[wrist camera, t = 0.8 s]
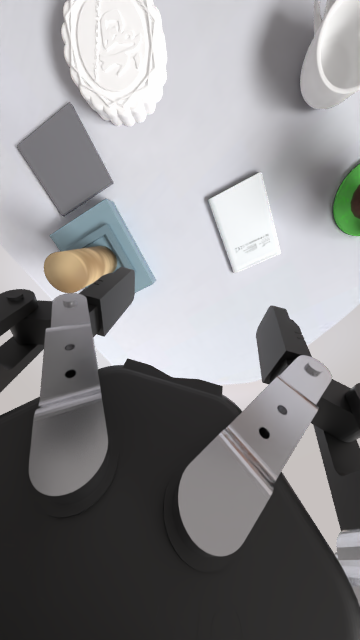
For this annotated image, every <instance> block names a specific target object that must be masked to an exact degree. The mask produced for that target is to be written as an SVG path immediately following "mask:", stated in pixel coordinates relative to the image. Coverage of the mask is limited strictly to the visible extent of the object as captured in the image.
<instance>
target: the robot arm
mask: <svg viewBox="0 0 360 640" xmlns="http://www.w3.org/2000/svg"><path fill="white" fill-rule="evenodd" d="M134 294H135V271H134V270H132V269H128V268H124V267H120V268H119V269H117V270H116V271H115V272H114V273H108V274H105V275H103V276H101V277H100V278H99V279H98V280H96V281H95V282H94V283H93V284H91V285H90V286H88V287H87V288H86V289H84V290H83V291H82V292H80V293H79V294H77V293H67V294H63V295H60V296H58V297H56V298H55V299H54V300H53V301H37V300H36V297H35V294H34V293H33V292H32V291H30V290H25V289H16V290H10V291H6V292H4V293H1V294H0V336H1V335H2V334H4V333H5V332H6V331H8V330H9V329H10V330H11V332H12V334H13V337H12V338H10V339H9V340H8V341H7V342H5V343H4V344H3V345H2V346H0V392H1V391H2V390H3V389H4V388H5V387H6V386H7V385H8V384H9V383H10V382H11V381H12V380H13V379H14V378H15V377H16V376H17V375H18V374H19V373H20V372H21V371H22V370H23V369H24V368H25V367H26V366H27V365H28V364H29V363H30V362H31V361H32V360H33V359H34V358H35V357H36V356H37V355H38V354H39V353H40V352H41V351H42V350H43V349H44V355H43V367H42V379H41V391H40V397H38V398H36V399H34V400H32V401H30V402H28V403H26V404H24V405H21V406H19V407H17V408H15V409H13V410H11V411H9V412H7V413H5V414H2V415H0V640H360V448H359V445H358V443H357V440H356V439H358V438H360V383H358V384H356V385H355V386H354V387H353V388H349V387H347V386H345V385H343V384H341V383H339V382H337V381H335V380H333V379H332V375H331V373H330V371H329V370H328V368H327V367H326V366H325V365H324V364H322V363H321V362H320V361H318V360H317V359H315V358H312V356H311V354H310V352H309V349H308V347H307V345H306V342H305V340H304V337H303V335H301V334H302V333H301V330H300V328H299V326H298V325H297V324H296V323H295V322H294V321H293V320H291V319H290V318H289V316H288V313H287V310H286V309H284V308H280V307H276V306H270V307H269V308H268V310H267V312H266V314H265V316H264V317H263V319H262V321H261V323H260V325H259V327H258V329H257V333H256V339H257V346H258V353H259V361H260V368H261V376H262V382H263V383H266V384H269V385H268V386H267V387H266V388H265V389H264V390H263V391H262V392H261V393H260V394H259V395H258V396H257V397H256V398H255V400H253V401H252V402H251V404H249V405H248V407H247V408H246V409H245V410H244V411H243V412H242V411H241V409H240V408H239V407H238V406H237V405H236V404H235V403H234V402H232V401H231V400H230V399H228V398H227V397H226V396H224V395H222V386H220V385H216V384H213V383H209V382H206V381H203V380H199V379H186V378H173V377H170V376H169V375H167V374H165V373H163V372H162V371H160V370H158V369H156V368H154V367H153V366H151V365H148V364H145V363H141V362H138V361H134V360H131V359H127V360H126V362H125V364H124V365H115V366H108V367H104V368H101V369H98V365H97V359H96V353H95V346H94V340H93V337H94V336H95V335H96V334H97V335H101V336H105V335H106V334H107V333H108V331H109V330H110V329H111V328H112V326H113V325H114V324H115V323H116V321H117V320H118V319H119V318H120V316H121V315H122V314H123V313H124V312H125V310H126V309H127V308H128V307H129V305H130V304H131V303H132V301H133V299H134ZM310 423H312V424H313V425H314V428H315V432H316V436H317V440H318V444H319V448H320V452H321V456H322V459H323V463H324V467H325V471H326V475H327V479H328V483H329V486H330V490H331V494H332V498H333V502H334V505H335V509H336V513H337V517H338V521H339V524H340V528H341V533H340V534H339V535H338V538H337V552H336V553H335V554H334V553H333V551H332V550H331V548H330V547H329V545H328V544H327V542H326V541H325V539H324V537H323V536H322V534H321V533H320V531H319V530H318V528H317V526H316V525H315V523H314V522H313V520H312V519H311V517H310V515H309V514H308V512H307V511H306V510H305V508H304V506H303V505H302V503H301V501H300V500H299V499H298V497H297V495H296V494H295V492H294V491H293V489H292V487H291V486H290V484H289V483H288V481H287V480H286V478H285V476H284V475H283V474H282V472H281V471H282V469H283V467H284V466H285V464H286V463H287V461H288V459H289V457H290V456H291V454H292V452H293V451H294V449H295V447H296V446H297V444H298V443H299V441H300V439H301V438H302V436H303V434H304V432H305V431H306V429H307V428H308V426H309V424H310Z"/></svg>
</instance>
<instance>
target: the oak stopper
mask: <svg viewBox="0 0 360 640" xmlns="http://www.w3.org/2000/svg"><path fill="white" fill-rule="evenodd" d="M116 267H117V258H116V255H115V254H114V252H113V251H112V250H111V249H110V248H108V247H106V246H95V247H88V248H81V249H75V250H68V251H61V252H55V253H52V254H50V255H49V256H48V257H47V258H46V260H45V262H44V273H45V276H46V278H47V280H48V281H49V283H50V284H51V285H52V286H53V287H55V288H56V289H57V290H59V291H61V292H65V293H74V292H77V291H79V290H80V289H82V288H84V287H86V286H88V285H90V284H92V283H94V282H95V281H96V280H98V279H99V278H100V277H101V276H103V275H105V274H108V273H113V272H114V271H115V269H116Z"/></svg>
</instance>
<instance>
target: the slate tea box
mask: <svg viewBox="0 0 360 640" xmlns="http://www.w3.org/2000/svg"><path fill="white" fill-rule="evenodd" d="M50 237H51V238H52V240H53V241H54V243H55V244H56V245H57V247H58V248H59V250H60V251H68V250H75V249H81V248H88V247H95V246H106V247H108V248H110V249H111V250H112V251H113V252H114V254H115V255H116V258H117V267H116V269H115V271H116V270H117V269H119V268H120V267H124V268H128V269H132V270H134V271H135V293H136V292H138V291H140V290H142V289H144V288H146V287H148V286H150V285H152V284H153V283H154V282H155V281H156V279H155V277H154V276H153V274H152V272H151V270H150V268H149V266H148V265H147V263H146V261H145V259H144V257H143V255H142V254H141V252H140V250H139V248H138V246H137V245H136V243H135V241H134V239H133V237H132V235H131V234H130V232H129V230H128V228H127V226H126V224H125V223H124V221H123V219H122V217H121V215H120V213H119V212H118V210H117V208H116V206H115V204H114V202H113V201H110V200H108V199H105V200H103V201H101V202H100V203H98V204H97V205H95V206H94V207H92V208H91V209H89V210H88V211H86V212H85V213H83V214H82V215H80V216H78V217H77V218H75V219H74V220H72V221H71V222H69V223H68V224H66V225H65V226H63V227H62V228H60V229H59V230H57V231H55V232H54V233H52V234H51V235H50ZM115 271H114V272H115ZM114 272H113V273H114ZM92 284H93V283H92ZM90 285H91V284H90ZM90 285H88V286H90ZM88 286H86V288H87V287H88Z"/></svg>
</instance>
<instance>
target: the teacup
mask: <svg viewBox="0 0 360 640" xmlns="http://www.w3.org/2000/svg"><path fill="white" fill-rule="evenodd" d="M313 18H314V38H313V40H312V42H311V44H310V46H309V48H308V50H307V53H306V56H305V59H304V62H303V66H302V70H301V76H300V87H301V93H302V96H303V98H304V100H305V102H306V103H307V104H308V105H309V106H311V107H312V108H315V109H329V108H332V107H335V106H337V105H339V104H340V103H342V102H343V101H345V100H346V99H348V98H349V97H350V96H352V95H353V94H355V93H356V92H357V91H359V90H360V0H327V3H326V9H325V13H324V17H323V20H322V19H321V15H320V0H315V1H314V11H313Z"/></svg>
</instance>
